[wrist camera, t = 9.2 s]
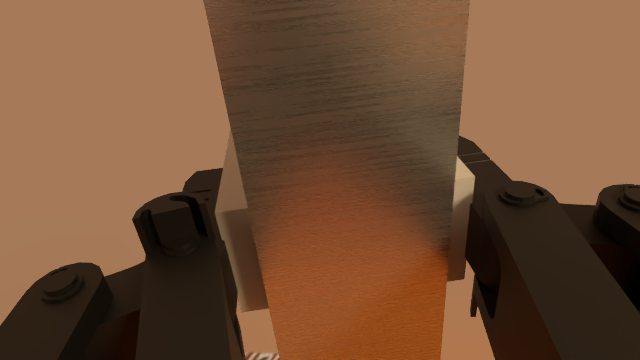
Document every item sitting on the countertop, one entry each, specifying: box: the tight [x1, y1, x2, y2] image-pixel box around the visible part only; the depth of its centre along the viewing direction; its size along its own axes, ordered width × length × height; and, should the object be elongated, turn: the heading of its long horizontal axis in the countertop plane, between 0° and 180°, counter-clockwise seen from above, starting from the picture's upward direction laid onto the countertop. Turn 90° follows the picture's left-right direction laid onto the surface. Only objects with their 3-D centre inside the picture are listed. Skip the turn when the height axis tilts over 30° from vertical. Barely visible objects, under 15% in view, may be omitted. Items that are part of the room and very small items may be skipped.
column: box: [204, 0, 470, 360], centre depth 12 cm, size 6×6×28 cm
